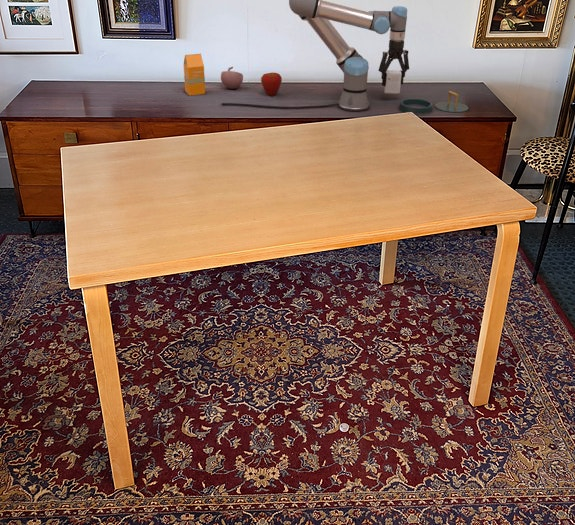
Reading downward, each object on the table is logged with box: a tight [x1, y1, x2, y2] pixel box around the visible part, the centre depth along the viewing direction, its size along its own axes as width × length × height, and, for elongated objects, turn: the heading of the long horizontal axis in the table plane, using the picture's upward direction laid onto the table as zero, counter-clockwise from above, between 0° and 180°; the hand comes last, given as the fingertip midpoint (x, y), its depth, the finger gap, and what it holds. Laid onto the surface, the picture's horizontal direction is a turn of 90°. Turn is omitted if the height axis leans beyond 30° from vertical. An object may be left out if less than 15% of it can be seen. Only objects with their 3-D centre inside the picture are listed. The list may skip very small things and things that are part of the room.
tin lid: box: [434, 90, 469, 114], centre depth 320 cm, size 17×17×8 cm
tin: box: [399, 98, 433, 114], centre depth 320 cm, size 16×16×3 cm
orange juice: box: [183, 53, 206, 96], centre depth 333 cm, size 8×9×20 cm
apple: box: [260, 72, 283, 97], centre depth 334 cm, size 11×11×12 cm
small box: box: [383, 69, 402, 95], centre depth 328 cm, size 8×6×10 cm
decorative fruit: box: [220, 66, 244, 90], centre depth 343 cm, size 12×12×11 cm
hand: (392, 84), depth 329 cm, fingers closed on small box, 9 cm apart
